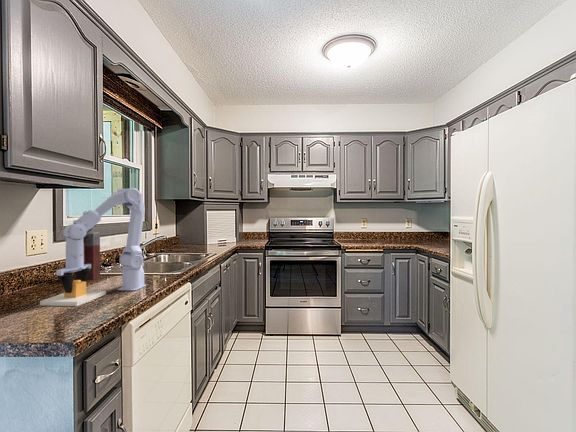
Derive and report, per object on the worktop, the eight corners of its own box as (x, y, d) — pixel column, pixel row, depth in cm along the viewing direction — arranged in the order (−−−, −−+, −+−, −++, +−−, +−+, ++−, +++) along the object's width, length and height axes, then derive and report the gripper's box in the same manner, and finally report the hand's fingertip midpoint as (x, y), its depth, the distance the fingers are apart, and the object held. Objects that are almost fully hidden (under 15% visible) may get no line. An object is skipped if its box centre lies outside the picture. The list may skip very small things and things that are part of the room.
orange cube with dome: (74, 293, 122) (74, 279, 122) (86, 294, 122) (86, 279, 122) (64, 297, 117) (64, 281, 117) (76, 297, 117) (76, 282, 117)
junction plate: (73, 293, 128) (73, 281, 128) (105, 294, 127) (105, 282, 127) (39, 305, 112) (39, 291, 112) (77, 306, 111) (76, 292, 111)
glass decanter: (71, 281, 150) (71, 223, 150) (81, 276, 161) (80, 223, 161) (92, 280, 152) (92, 223, 152) (100, 276, 163) (100, 223, 163)
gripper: (68, 258, 112) (68, 296, 112) (98, 253, 126) (98, 286, 126) (51, 257, 113) (51, 295, 113) (82, 252, 127) (82, 285, 127)
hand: (74, 290), depth 120 cm, fingers open, 6 cm apart
